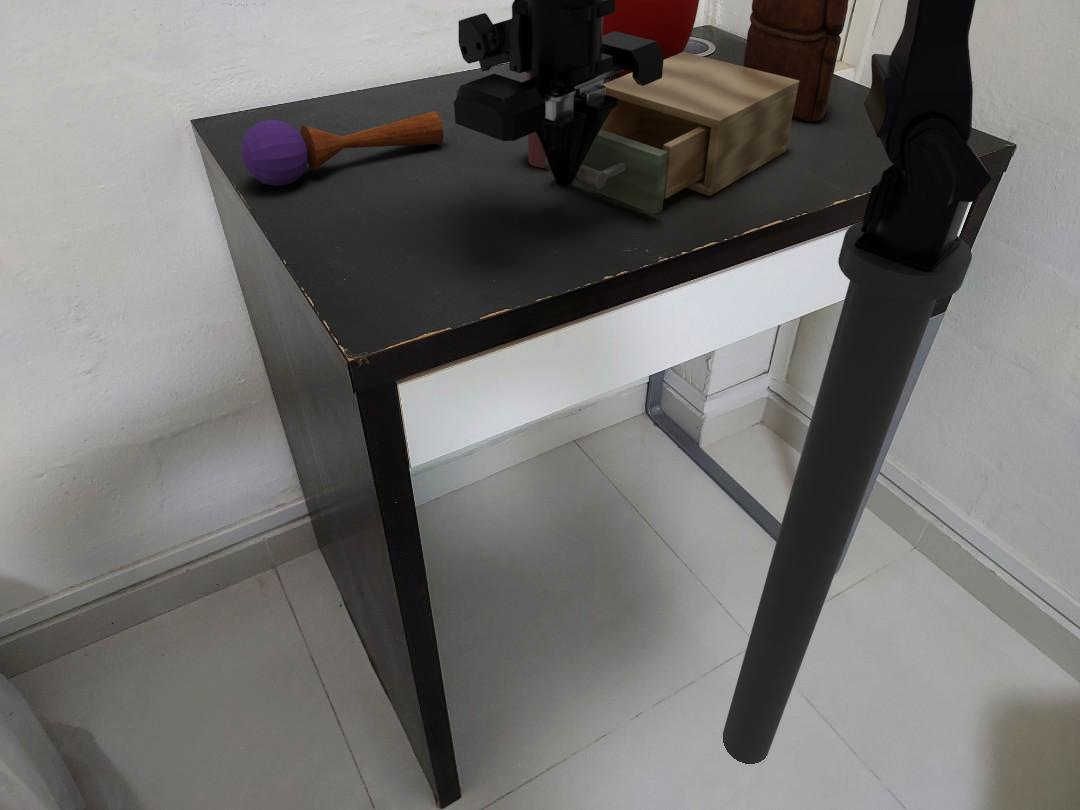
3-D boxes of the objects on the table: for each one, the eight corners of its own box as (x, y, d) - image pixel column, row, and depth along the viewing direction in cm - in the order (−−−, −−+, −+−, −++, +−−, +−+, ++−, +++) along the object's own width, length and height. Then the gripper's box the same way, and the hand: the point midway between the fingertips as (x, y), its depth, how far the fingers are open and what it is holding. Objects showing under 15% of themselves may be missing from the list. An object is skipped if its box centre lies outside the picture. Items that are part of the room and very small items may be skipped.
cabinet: (709, 196, 73) (719, 120, 68) (597, 156, 80) (599, 85, 75) (785, 151, 80) (799, 80, 76) (676, 118, 87) (683, 51, 83)
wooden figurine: (845, 112, 88) (889, -74, 76) (812, 127, 85) (853, -64, 73) (757, 86, 95) (785, -88, 83) (724, 99, 92) (749, -80, 80)
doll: (571, 160, 79) (573, 36, 72) (547, 171, 78) (545, 45, 70) (545, 150, 81) (544, 28, 74) (521, 161, 79) (517, 37, 72)
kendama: (451, 114, 79) (250, 145, 70) (447, 167, 83) (257, 203, 74) (424, 86, 82) (228, 112, 73) (422, 139, 86) (237, 169, 77)
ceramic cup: (728, 60, 102) (740, -26, 96) (651, 95, 93) (659, 3, 86) (647, 41, 109) (653, -41, 103) (568, 72, 100) (569, -16, 93)
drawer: (623, 232, 66) (627, 172, 63) (519, 188, 73) (517, 132, 69) (734, 169, 75) (742, 113, 72) (632, 135, 82) (635, 83, 78)
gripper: (567, -54, 66) (566, 129, 77) (393, -11, 56) (418, 193, 66) (675, -34, 61) (658, 160, 71) (503, 17, 50) (512, 236, 61)
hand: (563, 184), depth 67 cm, fingers closed
